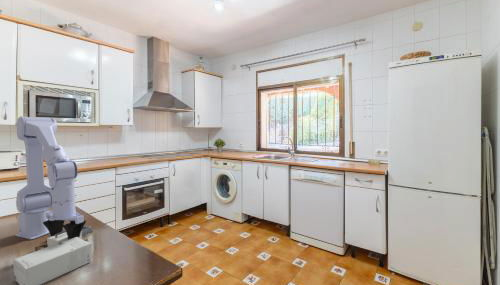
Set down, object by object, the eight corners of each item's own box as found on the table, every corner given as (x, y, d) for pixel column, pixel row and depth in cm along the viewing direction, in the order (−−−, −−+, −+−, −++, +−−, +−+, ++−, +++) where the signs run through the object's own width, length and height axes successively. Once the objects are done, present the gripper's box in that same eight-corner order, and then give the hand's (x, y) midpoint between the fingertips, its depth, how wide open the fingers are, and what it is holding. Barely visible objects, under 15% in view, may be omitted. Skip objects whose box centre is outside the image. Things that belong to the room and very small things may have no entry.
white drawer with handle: (48, 257, 72) (47, 234, 72) (71, 246, 79) (71, 225, 78) (59, 260, 70) (58, 236, 70) (82, 249, 77) (81, 227, 77)
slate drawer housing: (48, 240, 83) (48, 234, 83) (77, 229, 93) (77, 224, 93) (64, 243, 81) (64, 238, 80) (92, 232, 90) (92, 226, 90)
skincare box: (92, 242, 69) (26, 268, 56) (92, 262, 69) (26, 292, 56) (76, 235, 73) (11, 258, 60) (76, 254, 73) (11, 281, 60)
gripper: (33, 201, 72) (35, 244, 73) (65, 206, 68) (67, 252, 68) (58, 195, 79) (60, 235, 80) (89, 199, 74) (91, 241, 75)
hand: (65, 242), depth 74 cm, fingers open, 7 cm apart
